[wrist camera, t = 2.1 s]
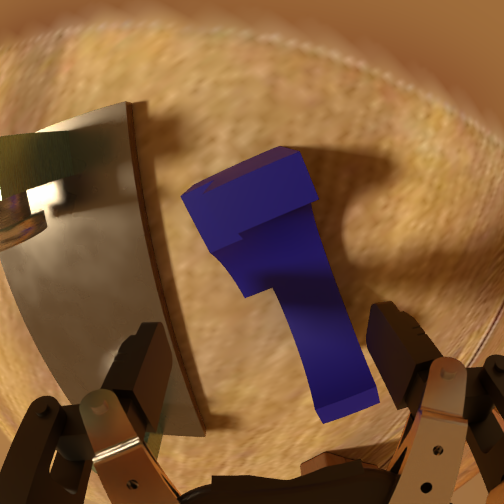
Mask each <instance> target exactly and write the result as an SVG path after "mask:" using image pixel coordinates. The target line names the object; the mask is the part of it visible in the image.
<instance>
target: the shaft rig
mask: <svg viewBox="0 0 504 504" xmlns="http://www.w3.org/2000/svg"><path fill="white" fill-rule="evenodd" d="M0 260H1V263H2V266H3V269H4V272H5V275H6V278H7V281H8V283H9V286H10V289H11V291H12V294H13V296H14V299H15V301H16V303H17V306H18V308H19V311H20V313H21V315H22V317H23V319H24V322H25V324H26V326H27V328H28V330H29V332H30V334H31V336H32V338H33V340H34V342H35V344H36V346H37V348H38V350H39V352H40V354H41V355H42V357H43V359H44V361H45V363H46V364H47V366H48V368H49V370H50V371H51V373H52V375H53V376H54V378H55V380H56V381H57V383H58V384H59V386H60V387H61V389H62V391H63V392H64V394H65V395H66V397H67V398H68V400H69V401H70V403H71V404H72V405H75V404H80V403H81V401H82V399H83V398H84V397H85V396H86V395H87V394H88V393H90V392H92V391H94V390H98V389H100V388H101V386H102V384H103V382H104V379H105V377H106V375H107V373H108V371H109V369H110V367H111V365H112V362H114V358H115V356H116V354H117V352H118V350H119V348H120V346H121V344H122V343H123V342H124V341H125V340H126V339H127V338H128V337H129V336H130V335H136V333H137V331H138V329H139V327H140V325H141V323H142V322H162V324H163V326H164V329H165V333H166V336H167V339H168V343H169V346H170V349H171V352H172V360H173V363H172V369H171V373H170V377H169V381H168V385H167V389H166V393H165V397H164V401H163V406H162V410H161V414H160V418H159V423H158V427H157V431H156V433H153V432H145V436H144V441H145V443H146V444H147V446H148V448H149V449H150V451H151V452H152V454H153V456H154V457H155V459H156V460H157V458H158V453H159V449H160V445H161V440H162V436H163V435H175V436H194V437H205V436H206V427H205V425H204V422H203V420H202V417H201V414H200V411H199V409H198V406H197V403H196V400H195V397H194V395H193V392H192V389H191V386H190V383H189V380H188V377H187V374H186V371H185V368H184V364H183V361H182V358H181V355H180V352H179V348H178V345H177V342H176V338H175V335H174V331H173V328H172V324H171V320H170V317H169V313H168V309H167V306H166V302H165V298H164V294H163V290H162V286H161V282H160V277H159V273H158V269H157V264H156V260H155V255H154V251H153V246H152V241H151V236H150V231H149V226H148V221H147V215H146V210H145V204H144V198H143V192H142V186H141V179H140V172H139V165H138V158H137V150H136V142H135V133H134V123H133V112H132V103H130V102H126V101H125V102H121V103H118V104H114V105H111V106H107V107H104V108H100V109H97V110H94V111H91V112H88V113H85V114H82V115H79V116H76V117H73V118H70V119H67V120H65V121H62V122H59V123H57V124H54V125H52V126H49V127H47V128H44V129H42V130H39V131H37V132H35V133H26V134H17V135H8V136H1V137H0ZM92 470H93V471H94V472H95V473H97V471H96V469H95V467H94V464H93V465H92Z"/></svg>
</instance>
